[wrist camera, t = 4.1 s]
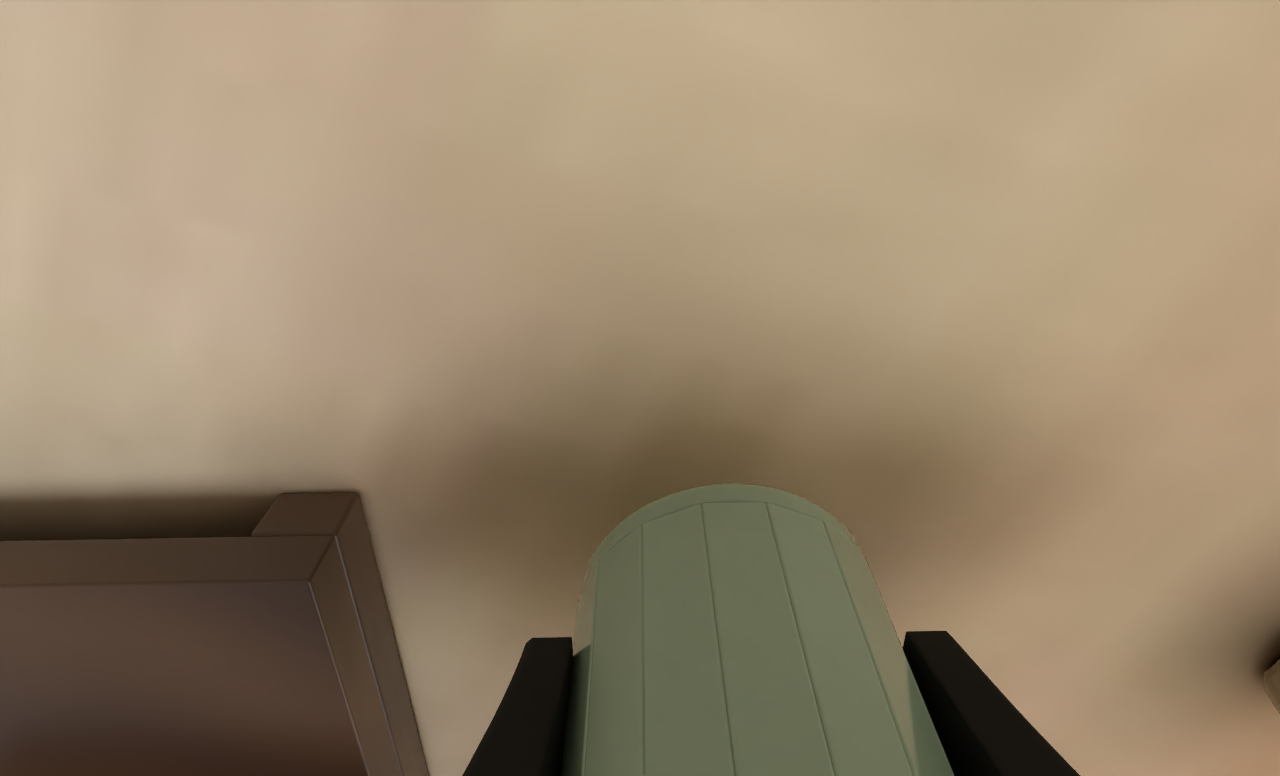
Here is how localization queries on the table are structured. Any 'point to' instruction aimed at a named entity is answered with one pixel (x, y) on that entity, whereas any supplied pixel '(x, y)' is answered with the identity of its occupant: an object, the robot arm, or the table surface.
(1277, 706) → the handle
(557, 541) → the table surface
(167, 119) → the table surface
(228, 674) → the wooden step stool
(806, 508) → the pencil cup
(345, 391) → the table surface
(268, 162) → the table surface
